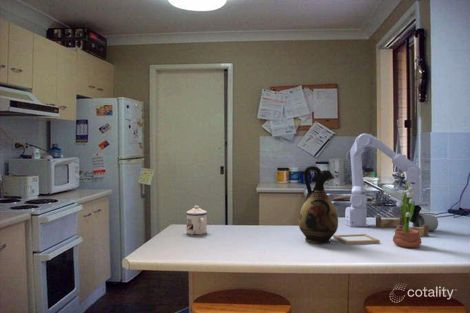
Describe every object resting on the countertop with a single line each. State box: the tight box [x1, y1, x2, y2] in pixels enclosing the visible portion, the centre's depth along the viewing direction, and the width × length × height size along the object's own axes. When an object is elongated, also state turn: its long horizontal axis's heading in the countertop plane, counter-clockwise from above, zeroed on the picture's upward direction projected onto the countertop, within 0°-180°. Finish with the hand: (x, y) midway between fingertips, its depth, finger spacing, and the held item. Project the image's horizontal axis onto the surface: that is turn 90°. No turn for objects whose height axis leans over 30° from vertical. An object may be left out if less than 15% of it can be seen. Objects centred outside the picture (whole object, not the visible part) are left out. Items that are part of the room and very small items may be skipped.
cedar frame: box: [375, 216, 429, 237], centre depth 172 cm, size 13×21×4 cm, turn 5°
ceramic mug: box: [411, 213, 439, 232], centre depth 174 cm, size 11×8×8 cm
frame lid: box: [332, 233, 380, 246], centre depth 153 cm, size 14×11×1 cm
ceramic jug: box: [297, 165, 339, 245], centre depth 152 cm, size 17×15×30 cm
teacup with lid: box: [185, 205, 208, 235], centre depth 165 cm, size 12×9×12 cm
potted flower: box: [392, 180, 422, 249], centre depth 145 cm, size 12×10×25 cm
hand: (412, 222), depth 172 cm, fingers closed
